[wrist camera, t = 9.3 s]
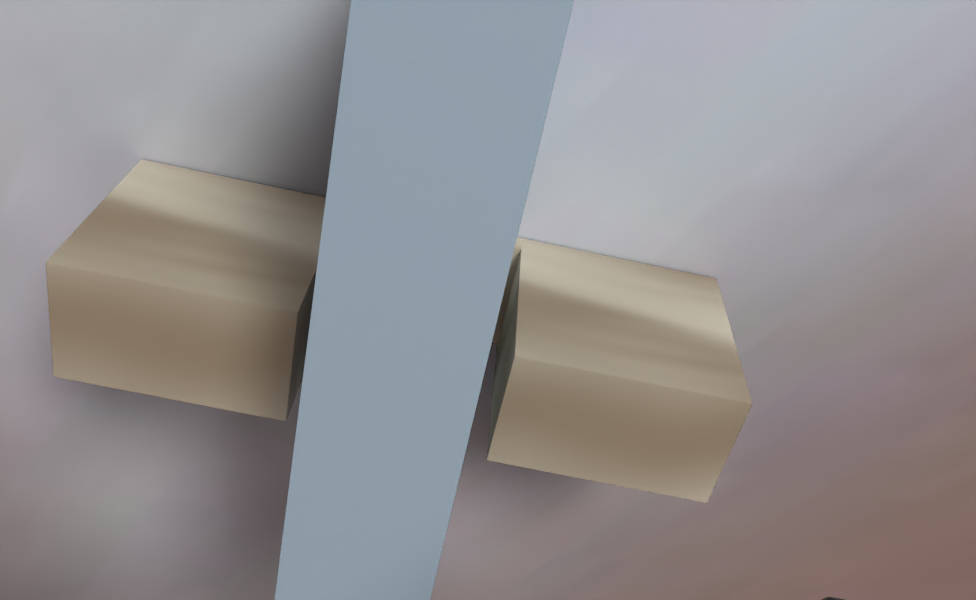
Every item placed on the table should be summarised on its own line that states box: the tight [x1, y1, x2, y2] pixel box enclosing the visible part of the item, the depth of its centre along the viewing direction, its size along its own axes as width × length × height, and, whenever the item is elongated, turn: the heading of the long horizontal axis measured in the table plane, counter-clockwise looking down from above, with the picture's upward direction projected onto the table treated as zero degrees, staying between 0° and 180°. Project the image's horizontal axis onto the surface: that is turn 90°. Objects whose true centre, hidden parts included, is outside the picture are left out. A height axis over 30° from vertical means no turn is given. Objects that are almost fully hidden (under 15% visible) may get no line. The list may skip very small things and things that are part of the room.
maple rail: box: [46, 159, 752, 503], centre depth 19 cm, size 3×13×4 cm, turn 79°
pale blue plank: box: [274, 0, 574, 600], centre depth 17 cm, size 12×3×7 cm, turn 169°
